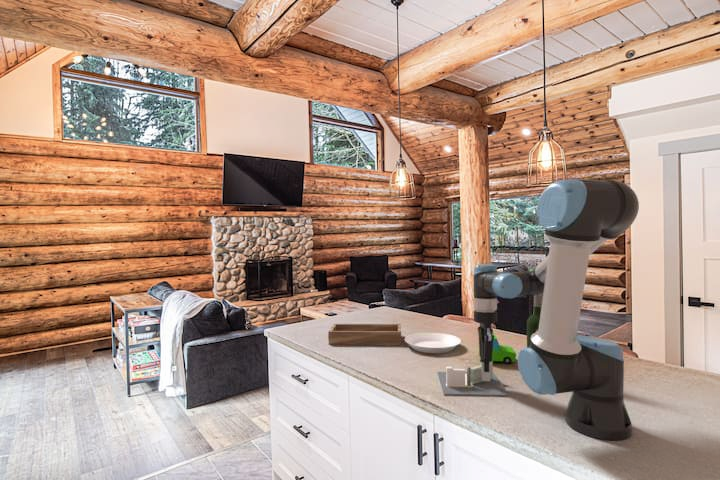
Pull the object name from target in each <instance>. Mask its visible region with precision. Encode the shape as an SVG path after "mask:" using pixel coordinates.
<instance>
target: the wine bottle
mask: <svg viewBox="0 0 720 480" xmlns="http://www.w3.org/2000/svg"><path fill="white" fill-rule="evenodd" d="M533 297H534V298H533V299H534V300H533V313H532V315H529V317H528V318H527V320H526V347H528V348H529V346H530V340H531V335H532V334H534V333H536V332H538V329H539V321H540V314H541V307H542V300H543V295H541V294H540V295H533Z"/></svg>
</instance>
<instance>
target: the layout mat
mask: <svg viewBox="0 0 720 480" xmlns="http://www.w3.org/2000/svg"><path fill="white" fill-rule="evenodd" d="M437 375H438V379H439V382H440V387H441V389H442V393H443V396H452V397H453V396H454V397H455V396H456V397H458V396H461V397H463V396H466V397H509V396H510V395H509V393H508V392H507V390H506V389H505V387H504V386H503V385H502V383H501V381H500V380H499V378H498V377H497V375H496V373H494V372H493V378H491V379H490V381H482V382H479V383H476V384H471V386H467V371H465V386H447V384H446V371H437Z"/></svg>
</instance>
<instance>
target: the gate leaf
mask: <svg viewBox="0 0 720 480" xmlns="http://www.w3.org/2000/svg"><path fill="white" fill-rule="evenodd" d="M493 363H494V361H492V362H490V379H491V378H493V373H494V372H493V371H494V369H493V368H494V365H493ZM470 368H471V384H476V383H479V382H482V380H481V364H480V365H477V366H473V367H470Z"/></svg>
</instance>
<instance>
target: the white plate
mask: <svg viewBox="0 0 720 480" xmlns="http://www.w3.org/2000/svg"><path fill="white" fill-rule="evenodd" d="M404 341H405V343H407V344H408V345H409V346H410V347H411V348H412V349H413V350H414V351H417V352H421V353H424V354H425V353H426V354H444V353H445V354H446V353H449V352H452V351H453V350H454V349H455V348H456V347H457V346H458V345H459V344H460V343H461V342H462V340H461V339H460V338H459V337H458V336H455V335H454V334H453V335H452V334H449V333H442V332H419V333H418V332H417V333H413V334H410V335H407V336H405V338H404Z"/></svg>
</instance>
